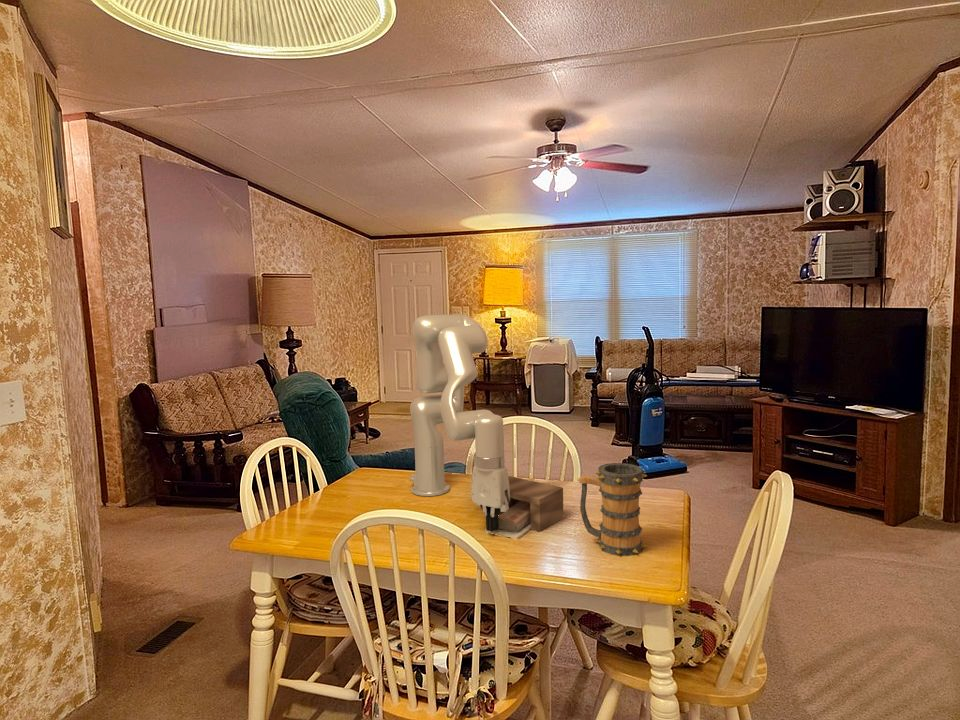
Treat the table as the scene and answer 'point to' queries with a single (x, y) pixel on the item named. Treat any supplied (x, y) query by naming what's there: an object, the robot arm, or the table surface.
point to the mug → (616, 508)
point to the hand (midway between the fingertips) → (492, 529)
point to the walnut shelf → (538, 501)
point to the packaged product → (514, 521)
